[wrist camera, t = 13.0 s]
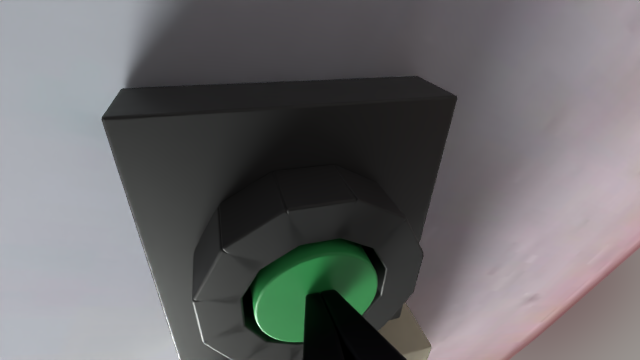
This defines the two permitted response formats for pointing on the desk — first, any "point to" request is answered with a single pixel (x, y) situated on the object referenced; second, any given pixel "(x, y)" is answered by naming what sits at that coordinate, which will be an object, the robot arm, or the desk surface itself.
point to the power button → (310, 284)
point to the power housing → (274, 192)
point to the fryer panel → (407, 336)
